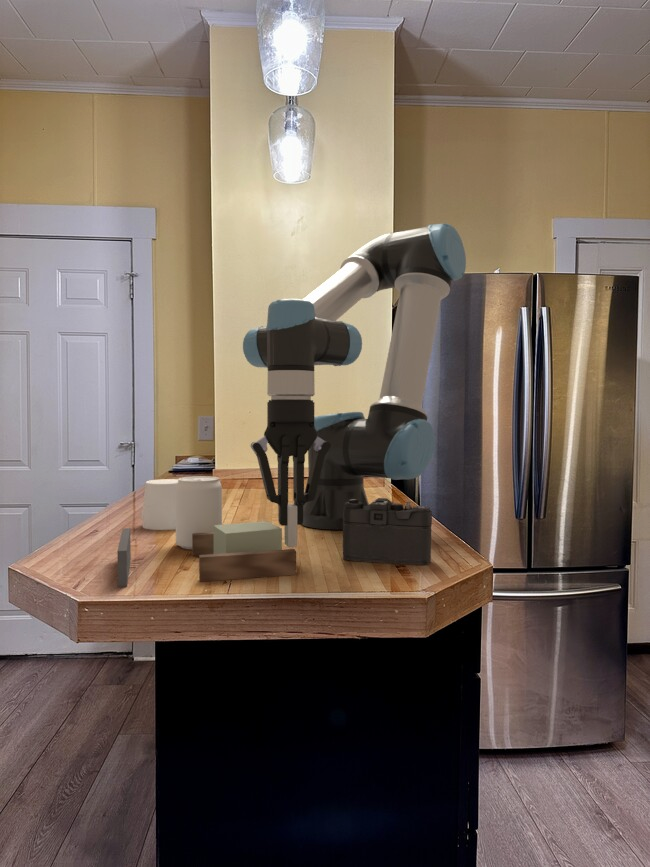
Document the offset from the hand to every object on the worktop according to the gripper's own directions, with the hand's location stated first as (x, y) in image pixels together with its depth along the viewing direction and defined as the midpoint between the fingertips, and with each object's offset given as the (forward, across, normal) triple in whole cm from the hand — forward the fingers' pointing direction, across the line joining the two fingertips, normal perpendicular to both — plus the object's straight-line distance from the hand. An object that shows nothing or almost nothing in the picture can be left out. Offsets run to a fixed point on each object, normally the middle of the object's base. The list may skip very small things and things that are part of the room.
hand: (290, 545), depth 101 cm
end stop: (+3, +26, 0) cm, 26 cm away
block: (+3, +7, 0) cm, 8 cm away
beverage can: (+3, +13, -15) cm, 20 cm away
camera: (+3, -16, +2) cm, 17 cm away
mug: (+3, +17, -34) cm, 38 cm away
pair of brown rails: (+3, +8, 0) cm, 8 cm away
